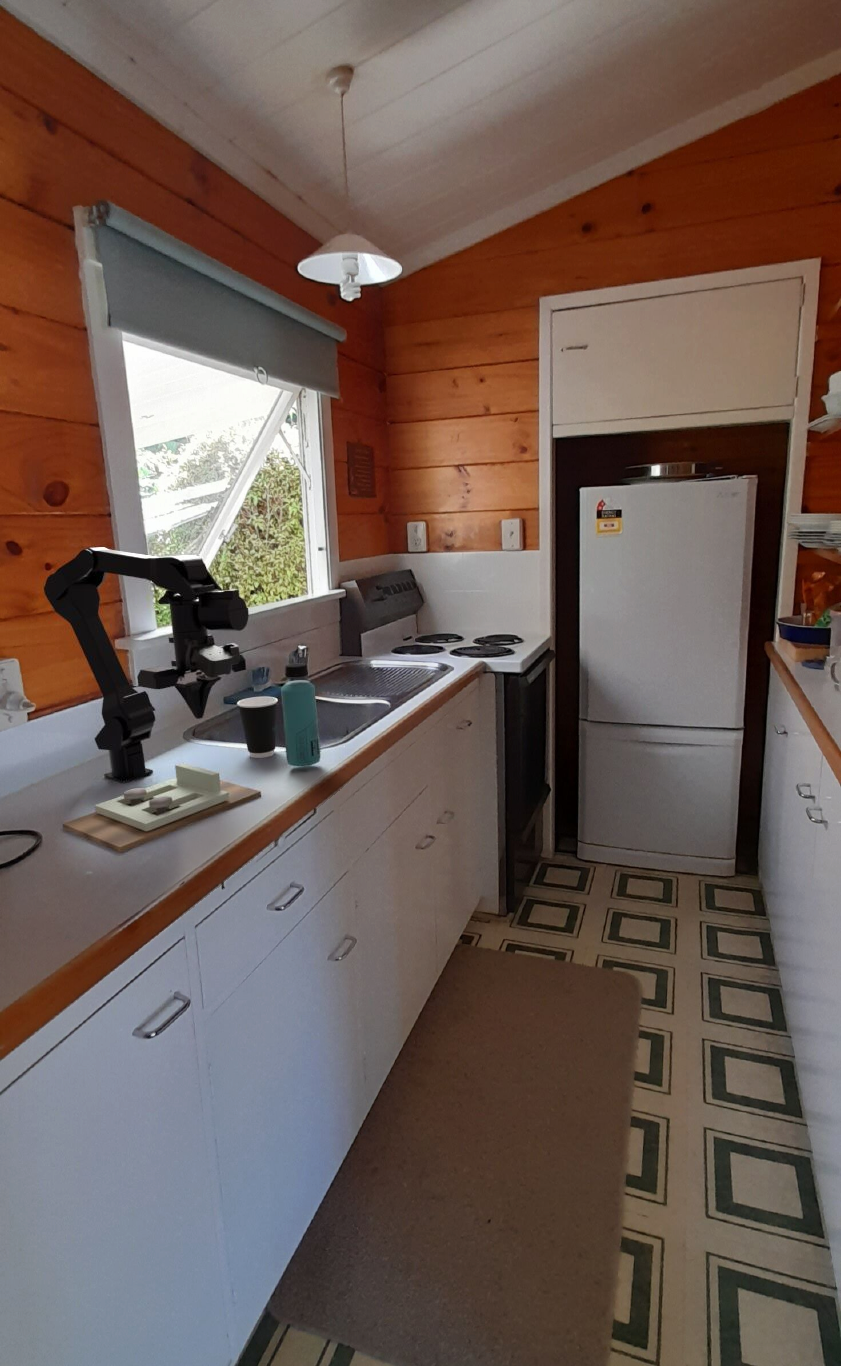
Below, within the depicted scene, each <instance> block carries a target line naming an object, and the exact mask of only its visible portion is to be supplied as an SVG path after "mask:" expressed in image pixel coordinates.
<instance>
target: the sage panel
mask: <svg viewBox="0 0 841 1366" xmlns="http://www.w3.org/2000/svg"><path fill="white" fill-rule="evenodd" d="M174 769H175V776H176V777H175V778H172V779H168V780H165V781H162V782H159V783H157V784H154V785H151V786H148V787H145V788H143V789H146V795H145V796H144V797H141V800H143V801H145V800H148V799H151V798H153V799H154V798H157V797H163V796H168V797H171V798H172V804H171V805H169V806H167V809H172V808H174V807H177V806H179V808H177V809H174V810H171V811H169V812H166V813H164V814H161V815H158V816H156V815H154V814H152V813H154V812H156V808H151V807H150V806H149V801H150V800H149V801H146V802H143V803H140V804H137V805H135V806H132V807H131V806H128V805H127V804H130V803H131V801H130V799H125V798H124V795H121V796H119V797H115V798H113V799H109V800H105V801H104V802H100V803H97V804H95V805H94V808H95V812H96V813H99V814H101V815H104V816H107V817H109V818H112V819H115V820H117V821H120V822H123V823H125V824H128V825H131V826H133V827H136V828H139V829H141V830H144V831H149V830H152V829H155V828H157V827H160V826H162V825H165V824H167V823H170V822H172V821H175V820H178V819H180V818H183V817H185V816H188V815H190V814H193V813H195V812H198V811H201V810H203V809H206V808H208V807H211V806H213V805H216V804H218V803H221V802H224V801H226V800H229V792H226V791H222V790H221V787H220V772H218V771H213V770H210V769H206V768H202V767H199V766H194V765H191V764H188V763H184V762H181V763H177V764H175V765H174Z"/></svg>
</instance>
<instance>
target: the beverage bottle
mask: <svg viewBox="0 0 841 1366" xmlns="http://www.w3.org/2000/svg"><path fill="white" fill-rule="evenodd" d="M284 668H285V669H284V675H285V677H286V678H302V677H303V678H304V677H306V676H307V677H308V675H309V670H308V665H307V663H305V662H294V663H289V664H286V665H285V667H284ZM280 693H281V705H282V714H283V715H282V716H283V727H282V728H283V732H284V733H283V734H284V735H283V736H284V742H285V743H284V745H285V746H284V750H285V755H286V756H285V757H286V761H287V764H288V765H289V766H292V767H293V766H294V767H309V766H312V765H316V764H318V763H319V762H320V761H321V754H322V753H321V746H320V736H319V733H320V730H319V723H318V722H319V721H318V715H319V714H318V707H317V702H316V686H315V685H314V684H313V683H312V682H311V681H309V680H303V679H298V680H297V679H295V680H290V681H287V682H286V683H285V684H283V686H282V687H281V689H280Z"/></svg>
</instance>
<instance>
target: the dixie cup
mask: <svg viewBox="0 0 841 1366" xmlns="http://www.w3.org/2000/svg"><path fill="white" fill-rule="evenodd" d="M278 701H279V700H278V698H276V697H273V696H254V697H248V698H244V699H240V700H238V701H237V703H236V705H237V706H238V708H239V714H240V718H241V723H242V729H243V733H244V737H245V742H246V748H247V751H248V753H249V756H250V757H251V758H254V759H263V758H264V759H265V758H268V757H272V756H273V755H274V754H275V749H276V740H277V738H276V737H277V707H278V705H277V703H278Z"/></svg>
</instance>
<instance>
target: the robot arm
mask: <svg viewBox="0 0 841 1366" xmlns="http://www.w3.org/2000/svg"><path fill="white" fill-rule="evenodd" d="M107 574H112V575H113V574H114V575H119V576H126V577H132V578H137V579H143V580H147V581H150V582H151V583H153V585H155V586H156V587H159V588H162V589H164V590H166V591H165V593H164V594H163V595H162V596H161V597H160V598H159V599H158V600H157V603H158V604H159V605H169V610H170V611H169V612H170V613H169V614H170V619H171V620H170V621H171V631H172V636H168V643H169V644H173V650H174V655H175V657H174V659H172V660H170V662H171V663H170V664H171V667H166V666H160V665H159V666H153V667H148V668H144V669H143V668H142V669H140V670H139V672H138V675H137V686H138V687H141V688H146V689H151V690H164V689H168V688H173V687H174V688H176V690H177V691H178V693H179V694H180V695H181V697H182V698H183V700H184V702H185V703H186V705H187V706H188V708H189V710H190V711H191V713H192V714H193V716H194V718H195V719H197V720H200V719H203V718H204V715H205V711H206V706H207V703H208V699H209V696H210V693H211V691H212V688H213V686H214V685H215V684H216V683H217V682H219V681H221V680H222V676H223V675H227V676H228V675H230V674H232V673H238V672H241V671H242V672H243V671H246V670H247V660H246V658H244V656H243V654H241V653H240V648H239V645H238V644H236V643H234V642H231V643H227V644H226V643H225V644H224V646H223V645H221V646H217V645H216V642H215V638H214V636H213V634H208V631H226V632H227V631H228V632H230V631H235V632H238V631H243V630H244V629H245V628H246V626H247V624H248V622H249V615H250V614H249V607H247V603H246V602H245V600H244V599H243V598H242V597H241V596H240V590H239V589H237V588H236V589H227V590H223V589H222V588H221V587H220V585H219V584H218V582H217V581H216V580H215V578H214V577H213V576H212V574H211V573H210V572H209V570H208V569H207V566H206V564H205V562H204V561H203V558H202V557H200V555H199V556H198V555H195V554H193V555H192V554H190V555H175V556H174V555H173V556H172V555H171V556H155V555H154V556H153V555H146V554H142V553H141V554H140V553H136V552H135V553H134V552H129V551H128V552H127V551H121V550H114V549H109V548H107V547H103V546H101V547H100V546H99V547H85V548H83V549H82V550H80V551H79V552H78V553H77V554H76V556H75V557H74V558H73V559H71V560H70V561H69V560H68V561H67V562H66V563H64V564H63V565H62V566H60V567H59V568H57V569H56V571H55V572H54V573H52V574H49V576H48V577H47V578H46V580H45V584H44V586H43V591H44V595H45V598H46V599H47V601H48V602H49V603H50V605H51V608H52V609H53V610H54V612H55V613H56V614H58V615H59V616H60V617H61V618H62V619H64V620H66V621H67V623H69V624H70V626H71V629H72V630H73V632H74V635H75V637H76V640H77V641H78V643H79V645H80V648H81V650H82V652H83V655H84V657H85V659H86V661H87V663H88V665H89V668H90V670H91V673H92V674H93V677H94V678H95V681H96V683H97V686H98V687H99V690H100V692H101V695H102V706H101V716H102V719H103V723H104V725H103V726H102V728H101V729H100V730H99V732H98V733H97V735H96V736H95V737H94V741H95V743H96V746H97V748H98V750H103V751H108V756H109V763H110V772H106V773H104V774H103V777H104V778H106V779H110V780H113V781H116V782H120V783H127V782H129V781H132V780H135V779H138V778H142V777H145V776H148V775H150V774H154V770H153V769H151V768H146V763H145V753H144V748H143V742H142V741H144V740H147V739H150V738H151V735H152V730H153V728H154V725H155V722H156V716H155V713H154V711H156V708H155V707H154V706H153V704H152V703H151V700H150V697H149V696H150V695H149V694H148V693H147V691H145V690H142V691H138V690H136V689H135V688H133V686H131V684H130V682H129V680H128V677H127V676H126V673H125V671H124V669H123V667H122V664H121V662H120V660H119V658H118V655H117V653H116V651H115V649H114V646H113V644H112V642H111V639H110V638H109V635H108V633H107V631H106V629H105V627H104V624H103V622H102V619H101V618H100V615H99V609H100V602H101V597H100V594H99V590H98V589H99V588H101V586H102V584H104V582H105V581H106V577H107ZM174 667H175V668H174Z"/></svg>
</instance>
